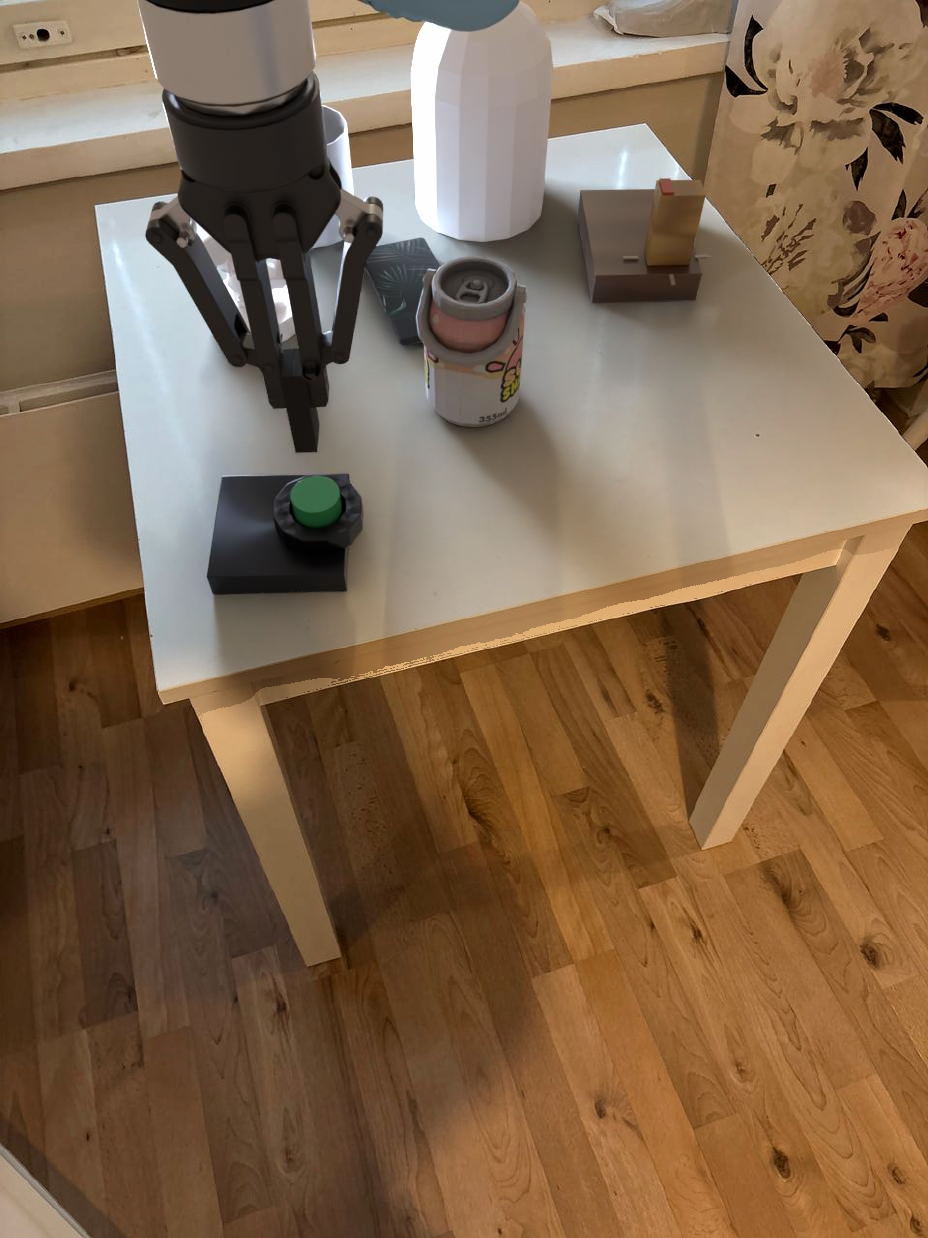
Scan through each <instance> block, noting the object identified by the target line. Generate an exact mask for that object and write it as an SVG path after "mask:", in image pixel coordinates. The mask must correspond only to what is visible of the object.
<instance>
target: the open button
mask: <svg viewBox="0 0 928 1238" xmlns="http://www.w3.org/2000/svg"><path fill="white" fill-rule="evenodd" d="M291 502H292V507H293V512H294V516H295V518H296V519H297V521H298V522H299V523H301V524H302V525H304V526H307V527H310V528H322V527H326V526H328V525H331V524H332V523H334V522H335V521H336V520H337V519H338V518H339V517H340V515H341V512H342V503H341V496H340V490H339V487H338V485H337V484H336V483H335V482H334V481H333V480H331V479H329V478H326V477H322V476H312V477H308V478H305V479H303V480H301V481H299V482H298V483H297V484H296V485H295V486H294V487H293V489H292V491H291Z"/></svg>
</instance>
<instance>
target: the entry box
mask: <svg viewBox="0 0 928 1238" xmlns="http://www.w3.org/2000/svg"><path fill="white" fill-rule="evenodd" d="M312 476H322V477H326V478H329V479H331V480H333V481H334V482H335V483H336V484H337V485H338V487H339V490H340V496H341V503H342V512H341V515H340V517H339V518H338V519H337V520H336V521H335V522H334V523H332V524H331V525H328V526H326V527H322V528H310V527H307V526H304V525H302V524H301V523H299V522H298V521H297V519H296V518H295V516H294V512H293V507H292V502H291V491H292V489H293V487H294V486H295V485H296V484H297V483H298V482H299V481H301V480H303V479H305V478H308V477H312ZM217 499H218V500H217V506H216V507H217V508H216V513H215V518H214V527H213V531H212V540H211V544H210V551H209V559H208V564H207V572H206V579H207V582H208V585H209V588H210V590H211V593H212V595H249V594H252V595H253V594H289V593H290V594H292V593H294V594H295V593H296V594H297V593H338V592H339V593H340V592H347V591H348V580H349V579H348V576H349V556H350V547H351V545H352V544H353V543H354V542H355V541H356V539H357V538H358V536H360V535H361V533H362V532H363V529H364V506H363V497H362V496H361V495H360V493H359V492H358V490H357V489H356V488H355V486H354V485H353V483H352V482H351V477H350V473H348V472H347V473H307V474H306V473H304V474H302V473H301V474H299V473H298V474H256V475H255V474H252V475H249V474H248V475H247V474H246V475H221V480H220V486H219V491H218V498H217Z"/></svg>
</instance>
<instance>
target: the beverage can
mask: <svg viewBox="0 0 928 1238" xmlns="http://www.w3.org/2000/svg"><path fill="white" fill-rule="evenodd" d="M423 285H424V287H423V290H422V294H421V298H420V302H419V306H418V311H417V315H416V323H417V330H418V336H419V338H420V340H421V341H422V342H421V343H422V344H423V354H424V380H425V381H424V382H425V383H424V384H425V395H426V398H427V402H428V404H429V405H430V407H431V409H432V410H433V411H434V412H435V414H437V415H438V416H440V417H441V418H442V419H444V420H445V421H447V422H449V423H451V424H454V425H457V426H460V427H464V428H465V427H466V428H480V427H487V426H489V425H493V424H495V423H497V422H499V421H502V420H503V419H504V418H505V417H507V416H508V415H509V414H511V413H512V411H514V409H515V407H516V406H517V403H518V402H519V399H520V393H521V392H520V391H521V381H522V380H521V379H522V378H521V377H522V363H523V352H524V351H523V348H524V334H525V322H526V321H525V320H526V319H525V318H526V307H525V303H526V302H527V301H528V294H527V285H523V284H518V279H517V276H516V273H515V272H514V271H513V270H512V269H511V268H510V267H509V266H508V265H506V264H505V263H503V262H501V261H500V260H497V259H494V258H490V257H487V256H477V255H476V256H475V255H471V256H463V257H462V256H461V257H458V258H455V259H453V260H452V259H451V260H449V261H447V262H446V263H444V264H443V265H441V266H439V268H438V270H434V269H428V270H427V272H426V274H425V276H424V277H423Z"/></svg>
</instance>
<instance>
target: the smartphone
mask: <svg viewBox="0 0 928 1238" xmlns="http://www.w3.org/2000/svg"><path fill="white" fill-rule="evenodd" d="M439 267H440V265H439V263H438V261H437V259H436V257H435V256H434V254H433V252H432V250H431V248H430V247H429V244H428V242H427V241H426V239H425V238H424V237H416V238H411V239H406V240H405V239H404V240H400V241H395V242H390V243H384V244H380V245H376V247H375V248H374V250H373V251H372V253H371V254H370V256H369V258H368V259H367V261H366V266H365V271H366V273H367V275H368V276H369V279H370V281H371V283H372V286H373V288H374V290H375V292H376V295H377V298H378V300H379V302H380V304H381V306H382V308H383V309H384V313H385V315H386V317H387V319H388V321H389V323H390V325H391V328H392V329H393V331H394V333H395V335H396V338H397V339H398V342H399V345H401V346H403V347H406V346H411V345H415V344H420V343H422V341H421V340H420V338H419V336H418V330H417V323H416V315H417V311H418V306H419V302H420V298H421V294H422V290H423V287H424V285H423V277H424V276H425V274H426V272H427V270H428V269H434V270H438V268H439Z"/></svg>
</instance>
